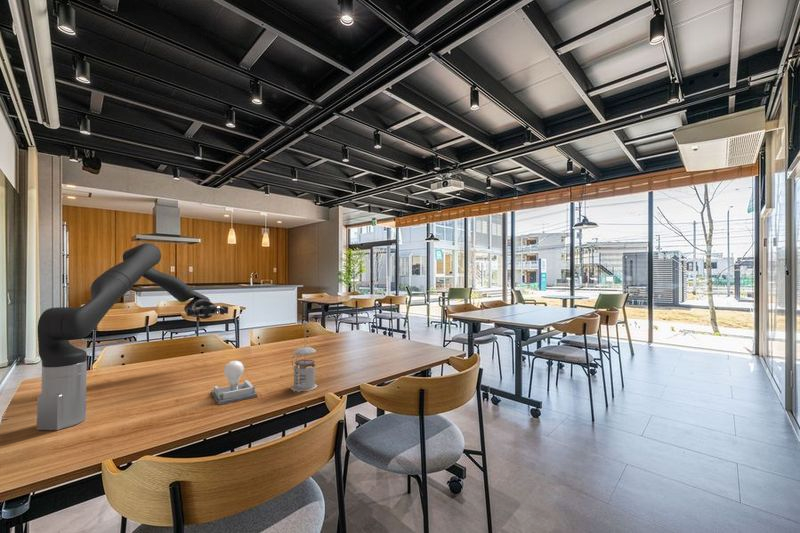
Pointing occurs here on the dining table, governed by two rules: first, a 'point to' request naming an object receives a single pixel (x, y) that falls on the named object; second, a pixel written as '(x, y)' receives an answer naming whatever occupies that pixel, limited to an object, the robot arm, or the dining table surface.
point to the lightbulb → (233, 373)
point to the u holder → (234, 393)
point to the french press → (304, 369)
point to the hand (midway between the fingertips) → (210, 312)
